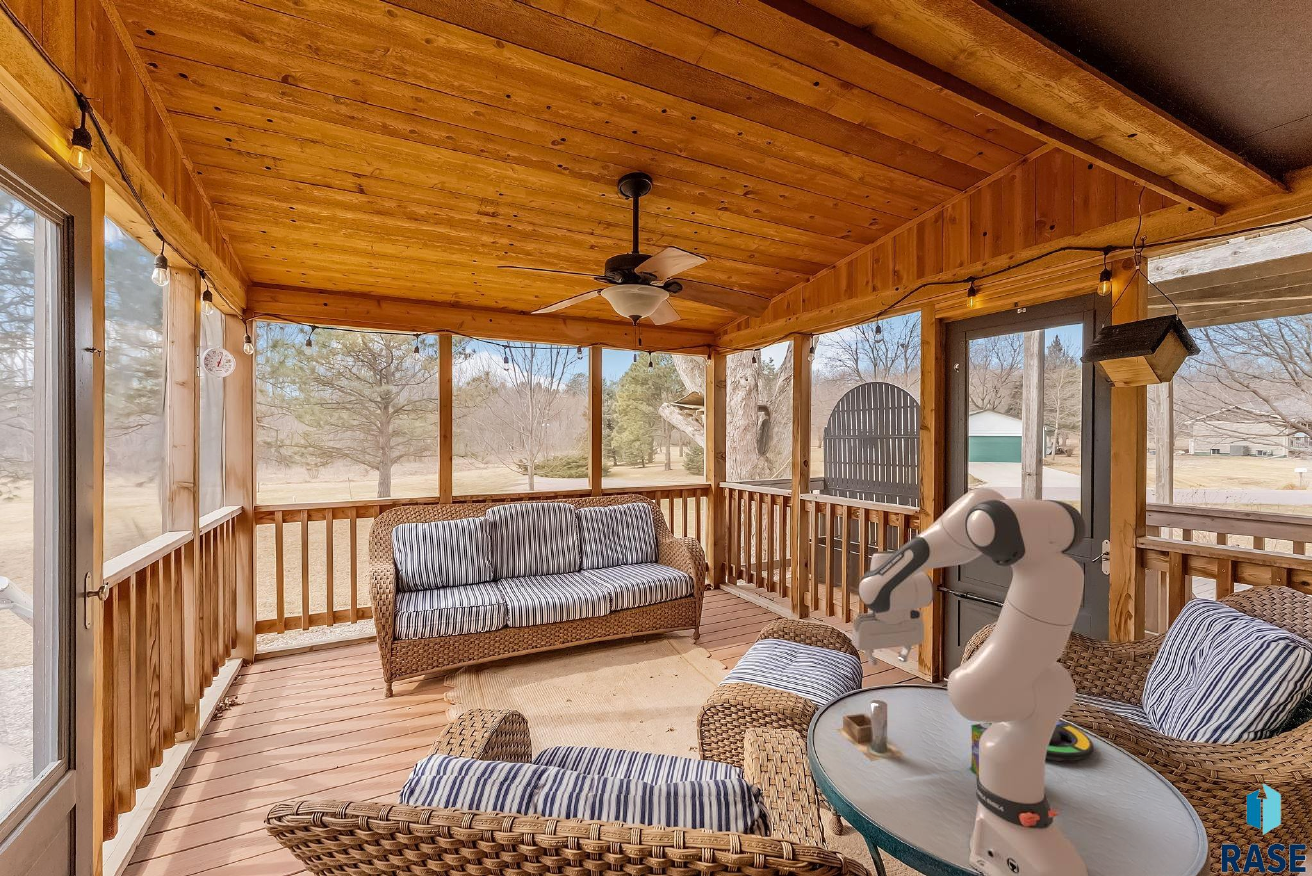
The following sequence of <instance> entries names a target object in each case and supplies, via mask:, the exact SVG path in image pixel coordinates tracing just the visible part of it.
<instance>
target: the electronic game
mask: <svg viewBox="0 0 1312 876" xmlns="http://www.w3.org/2000/svg"><path fill="white" fill-rule="evenodd" d="M1064 737H1065V738H1064ZM1062 738H1064V739H1066V738H1067V739H1069V740H1070V741H1071V743H1070V744H1068V745H1061V743H1062ZM1067 739H1066V740H1067ZM1069 740H1068V741H1069ZM1070 741H1069V742H1070ZM1093 752H1094V744H1093V742H1092V740H1091V738H1090V737H1089V736H1087V734H1085V733H1084V732H1083V731H1081V730H1080V729H1078V728H1076V727H1074V726H1073V725H1071V724H1068V723H1066V722H1064V721H1061V720H1059V721H1058V723H1057V725H1056V727H1055V730H1054V732H1053V734H1052V737H1051V740H1050V742H1049V745H1048V749H1047V753H1046V758H1045V760H1049V761H1055V760H1057V761H1056V762H1073V760H1074V761H1077V760H1081V759H1084V758H1087V757H1089V756H1091V755H1092V754H1093Z"/></svg>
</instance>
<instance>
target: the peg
mask: <svg viewBox="0 0 1312 876" xmlns="http://www.w3.org/2000/svg"><path fill="white" fill-rule="evenodd" d="M870 718H871V749H872V750H873V751H875V752H877V753H886V752H887V741H888V703H886V702H885V701H882V700H878V699H874V700H871V701H870Z"/></svg>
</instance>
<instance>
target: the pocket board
mask: <svg viewBox="0 0 1312 876" xmlns="http://www.w3.org/2000/svg"><path fill="white" fill-rule="evenodd" d="M836 731H837V732H838V733H839V734H841V735H842V737H844V738H845V739H846V740H847V741H849V743H851V744H852V745H853V746H855V748H856V749H857V750H859V751H860V752H861V753H862V754H863V755H864V756H865V757H866V758H867V759H868V760H870V761H871V762H872V761H877V760H878V761H879V760H884V759H891V758H897V757H902V756H905V754H904V753H903V752H902V751H900V750H899V749H898V748H897V747H895V746H894V745H893V744H892V743H891V742H889V741H888V740H887V752H886V753H877V752H875V751H873V750H872V749H871V716H869V715H867V714H866V713H857V714H850V715H843V716H842V728H837V729H836Z"/></svg>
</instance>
